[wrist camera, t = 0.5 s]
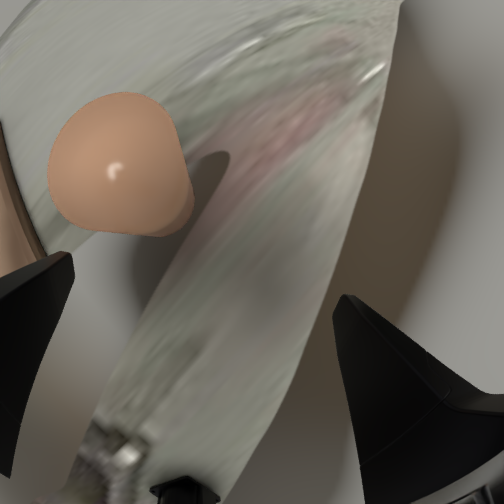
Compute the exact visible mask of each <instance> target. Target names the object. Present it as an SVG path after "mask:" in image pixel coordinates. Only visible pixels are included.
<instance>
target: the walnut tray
mask: <svg viewBox="0 0 504 504" xmlns="http://www.w3.org/2000/svg"><path fill="white" fill-rule="evenodd" d="M45 257H46V254H45V252H44V250H43V248H42V246H41V244H40V242H39V240H38V238H37V235H36V233H35V231H34V228H33V226H32V224H31V221H30V219H29V217H28V214H27V211H26V209H25V206H24V204H23V201H22V198H21V196H20V193H19V190H18V187H17V184H16V181H15V178H14V175H13V171H12V168H11V165H10V161H9V157H8V154H7V150H6V146H5V142H4V137H3V133H2V128H1V123H0V277H2V276H4V275H6V274H9V273H11V272H13V271H15V270H17V269H20V268H22V267H24V266H26V265H29V264H31V263H33V262H35V261H38V260H40V259H42V258H45Z"/></svg>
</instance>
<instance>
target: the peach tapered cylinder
mask: <svg viewBox="0 0 504 504" xmlns="http://www.w3.org/2000/svg"><path fill="white" fill-rule="evenodd" d="M47 177H48V186H49V191H50V194H51V197H52V200H53V202H54V204H55V206H56V208H57V209H58V210H59V212H60V213H61V214H62V215H63V216H64V217H65V218H66V219H67V220H68V221H70V222H71V223H73V224H74V225H76V226H78V227H81V228H84V229H87V230H93V231H102V232H112V233H122V234H133V235H141V236H151V237H164V236H168V235H171V234H173V233H175V232H177V231H178V230H180V229H181V228H182V227H183V226H184V225H185V224H186V222H188V220H189V219H190V217H191V214H192V212H193V209H194V204H195V195H194V190H193V186H192V183H191V180H190V177H189V173H188V170H187V166H186V163H185V159H184V156H183V153H182V149H181V146H180V142H179V139H178V135H177V131H176V128H175V126H174V123H173V121H172V119H171V117H170V115H169V114H168V113H167V111H166V110H165V109H164V108H163V107H162V106H161V105H160V104H159V103H157V102H156V101H154V100H153V99H151V98H149V97H147V96H144V95H141V94H137V93H130V92H120V93H113V94H109V95H105V96H102V97H100V98H97V99H95V100H93V101H91V102H89V103H88V104H86V105H85V106H83V107H82V108H81V109H80V110H78V111H77V112H76V113H75V114H74V115H73V116H72V117H71V118H70V119H69V120H68V121H67V122H66V124H65V125H64V126H63V128H62V129H61V131H60V132H59V134H58V136H57V138H56V140H55V142H54V144H53V147H52V150H51V153H50V157H49V162H48V172H47Z"/></svg>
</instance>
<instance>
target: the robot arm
mask: <svg viewBox="0 0 504 504" xmlns="http://www.w3.org/2000/svg"><path fill="white" fill-rule="evenodd" d="M74 279H75V272H74V266H73V258H72V255H71V254H70V253H68V252H63V251H59V252H57V253H54V254H52V255H49V256H47V257H45V258H42V259H40V260H38V261H35V262H33V263H31V264H29V265H26V266H24V267H22V268H20V269H17V270H15V271H13V272H11V273H9V274H6V275H4V276H2V277H0V473H1V474H2V475H4V476H6V477H8V478H9V479H10V476H11V471H12V465H13V459H14V454H15V449H16V444H17V439H18V435H19V431H20V427H21V422H22V419H23V415H24V412H25V408H26V405H27V402H28V398H29V395H30V392H31V389H32V386H33V383H34V380H35V377H36V374H37V372H38V369H39V366H40V364H41V361H42V358H43V356H44V354H45V351H46V349H47V346H48V344H49V342H50V339H51V337H52V335H53V333H54V330H55V328H56V326H57V324H58V321H59V319H60V317H61V314H62V312H63V309H64V306H65V303H66V301H67V298H68V295H69V293H70V290H71V288H72V285H73V283H74ZM332 319H333V327H334V335H335V342H336V349H337V356H338V361H339V365H340V370H341V374H342V378H343V383H344V387H345V392H346V396H347V401H348V406H349V411H350V416H351V421H352V426H353V431H354V436H355V441H356V447H357V453H358V458H359V464H360V471H361V478H362V485H363V491H364V499H365V504H504V394H489V393H485V392H483V391H481V390H479V389H478V388H476V387H475V386H473V385H472V384H471V383H469V382H468V381H466V380H465V379H463V378H462V377H460V376H459V375H458V374H456V373H455V372H453V371H452V370H451V369H449V368H448V367H447V366H445V365H444V364H443V363H441V362H440V361H439V360H437V359H436V358H435V357H434V356H432V355H431V354H430V353H429V352H426V350H425V349H424V348H422V347H421V346H420V345H419V344H417V343H416V342H414V341H413V340H412V339H411V338H410V337H408V336H407V335H406V334H404V333H403V332H402V331H401V330H399V329H398V328H397V327H395V326H394V325H393V324H391V323H390V322H389V321H388V320H386V319H385V318H384V317H382V316H381V315H380V314H379V313H377V312H376V311H375V310H373V309H372V308H371V307H369V306H368V305H367V304H365V303H364V302H363V301H361V300H360V299H359V298H357V297H356V296H354V295H350V294H343V295H342V296H341V297H340V299H339V301H338V304H337V306H336V308H335V310H334V312H333V316H332ZM186 479H187V480H186ZM149 491H150V492H151V493H152V494H153V495H155V496H156V497H158V503H157V504H216V503H218V502H220V501H221V500H220V497H218V496H217V495H215V494H214V493H212V492H211V491H209V490H208V489H207V488H205V487H204V486H202V485H201V484H199V483H198V482H196V481H195V480H194V479H192V478H191V477H189V476H184V477H181V478H178V479H176V480H173V481H170V482H167V483H164V484H161V485H158V486H154V487H151V488H150V490H149Z"/></svg>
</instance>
